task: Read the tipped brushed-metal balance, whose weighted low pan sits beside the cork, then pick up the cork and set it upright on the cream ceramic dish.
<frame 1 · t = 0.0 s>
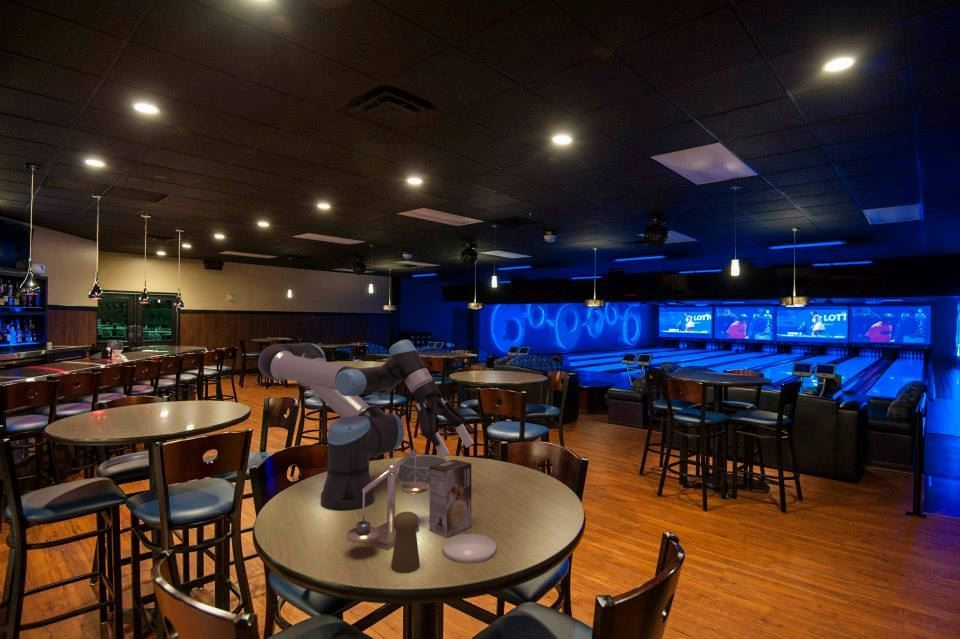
hand: (458, 450, 141), 15 cm above the table, tool tilted 35°, fingers open, 13 cm apart
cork: (405, 567, 104), on the table
balance: (390, 536, 119), on the table
dish: (469, 550, 112), on the table
coffee box: (450, 529, 123), on the table
dog bowl: (424, 477, 167), on the table
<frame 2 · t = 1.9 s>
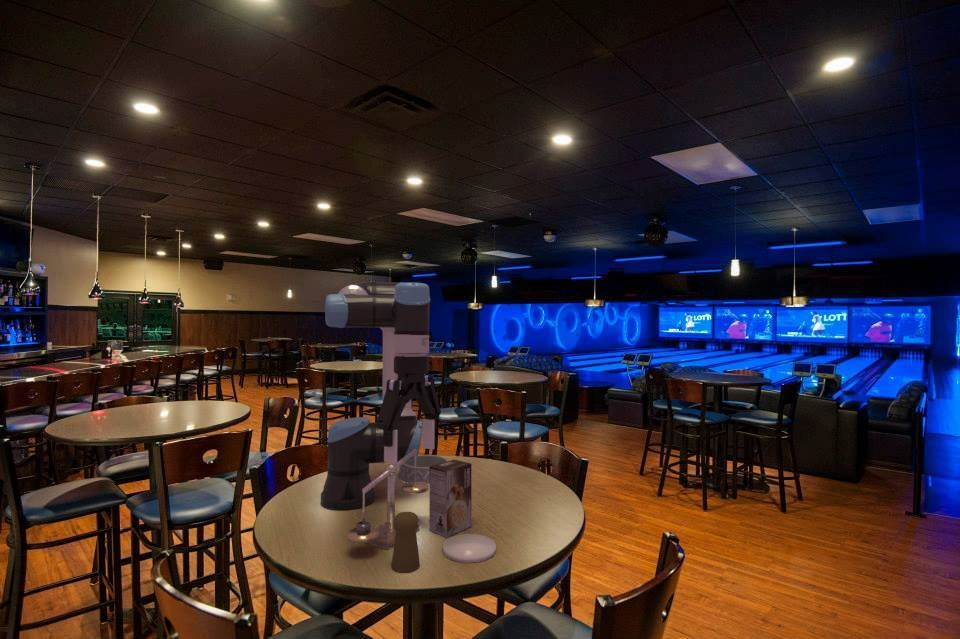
hand: (410, 455, 105), 23 cm above the table, tool pointing down, fingers open, 13 cm apart
nothing on the table moved.
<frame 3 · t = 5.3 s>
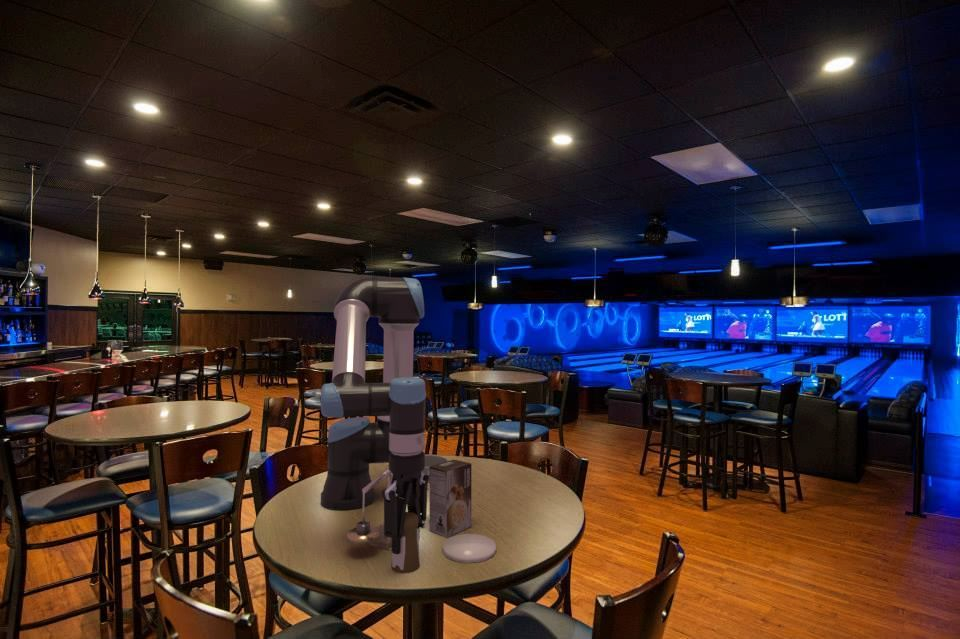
hand: (405, 562, 104), 1 cm above the table, tool pointing down, fingers closed on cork, 4 cm apart
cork: (405, 567, 104), on the table, touching gripper
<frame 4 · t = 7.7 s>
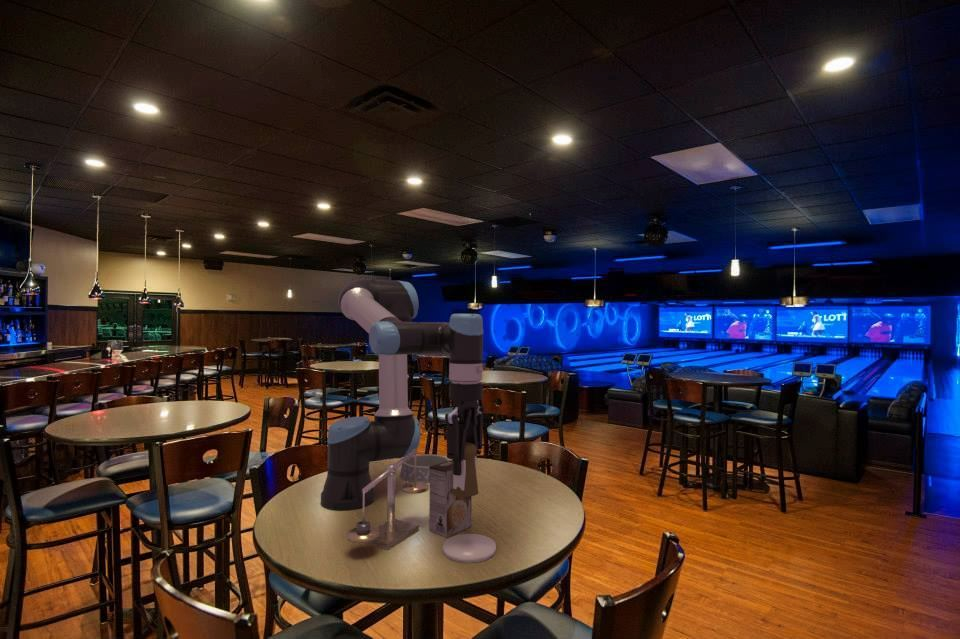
hand: (465, 485, 111), 15 cm above the table, tool pointing down, fingers closed on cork, 4 cm apart
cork: (465, 493, 111), point 13 cm above the table, touching gripper
when the fingers open (3 cm above the table, at t = 9.8 s): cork stays where it is, resting on dish.
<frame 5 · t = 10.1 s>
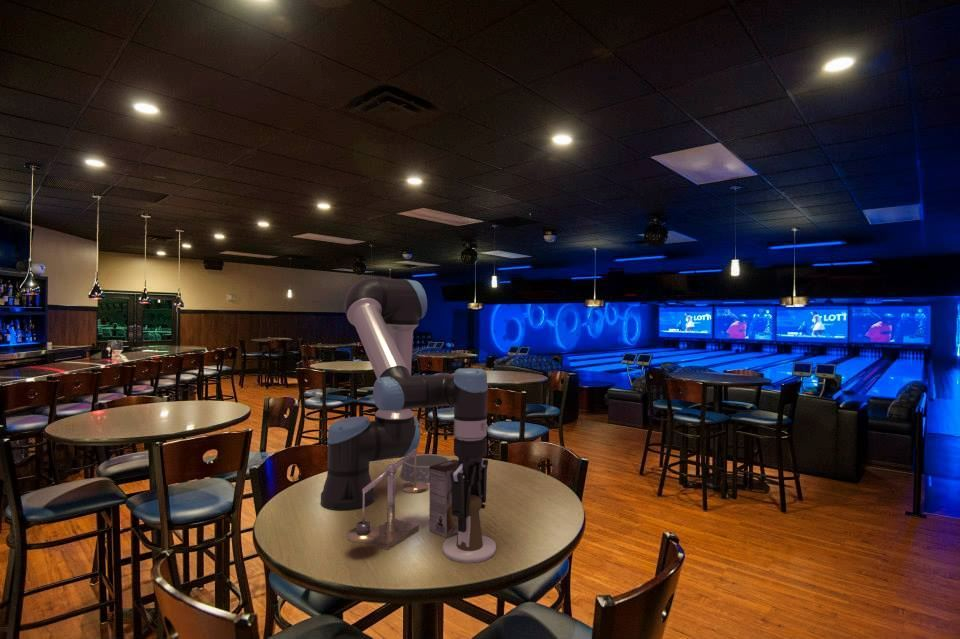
hand: (469, 540, 112), 2 cm above the table, tool pointing down, fingers open, 4 cm apart
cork: (469, 545, 112), point 1 cm above the table, touching dish, gripper
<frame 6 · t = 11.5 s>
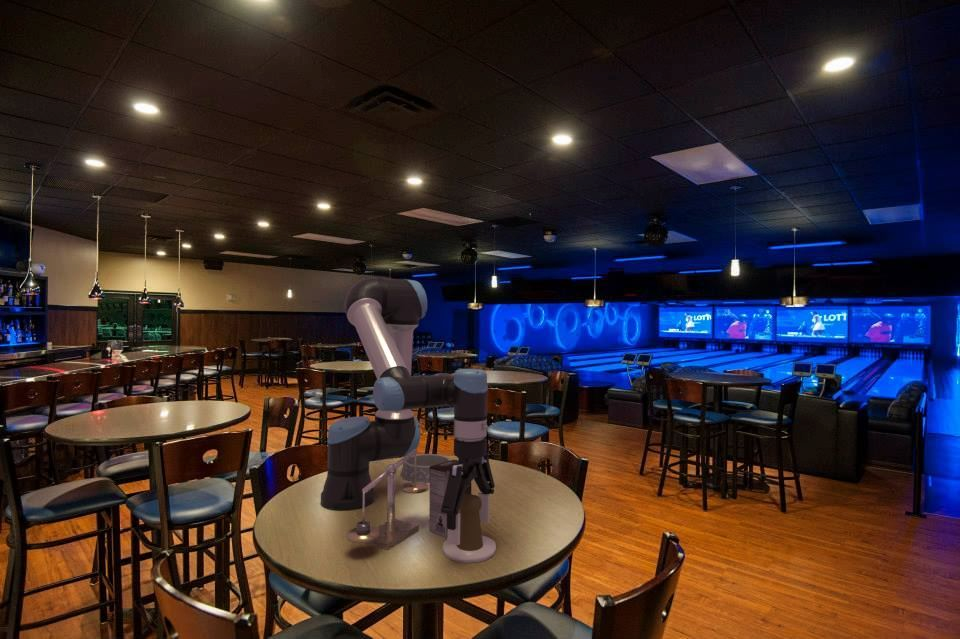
hand: (469, 532, 112), 4 cm above the table, tool pointing down, fingers open, 13 cm apart
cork: (469, 545, 112), point 1 cm above the table, touching dish
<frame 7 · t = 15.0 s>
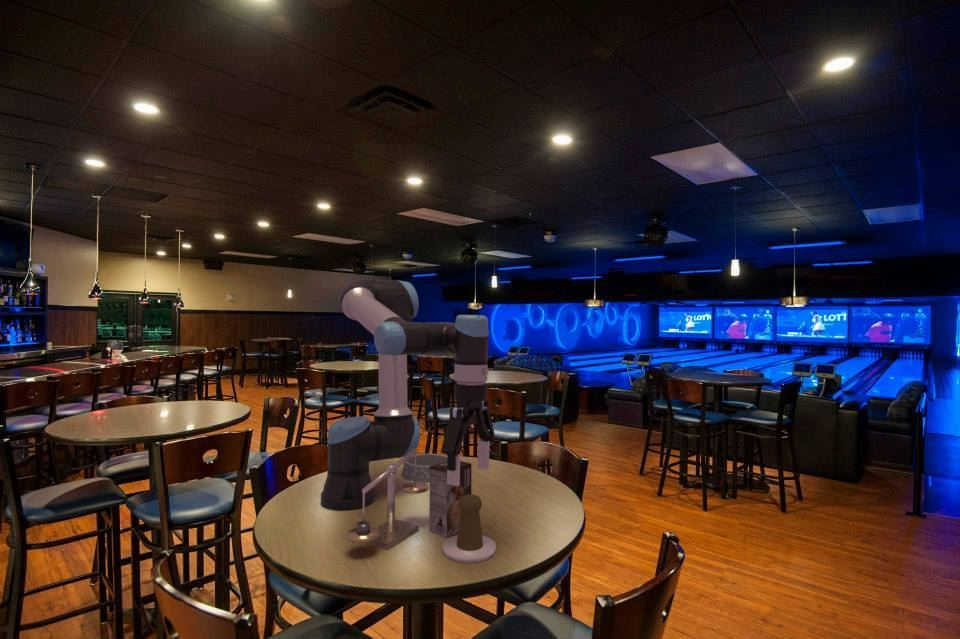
hand: (468, 476, 112), 17 cm above the table, tool pointing down, fingers open, 13 cm apart
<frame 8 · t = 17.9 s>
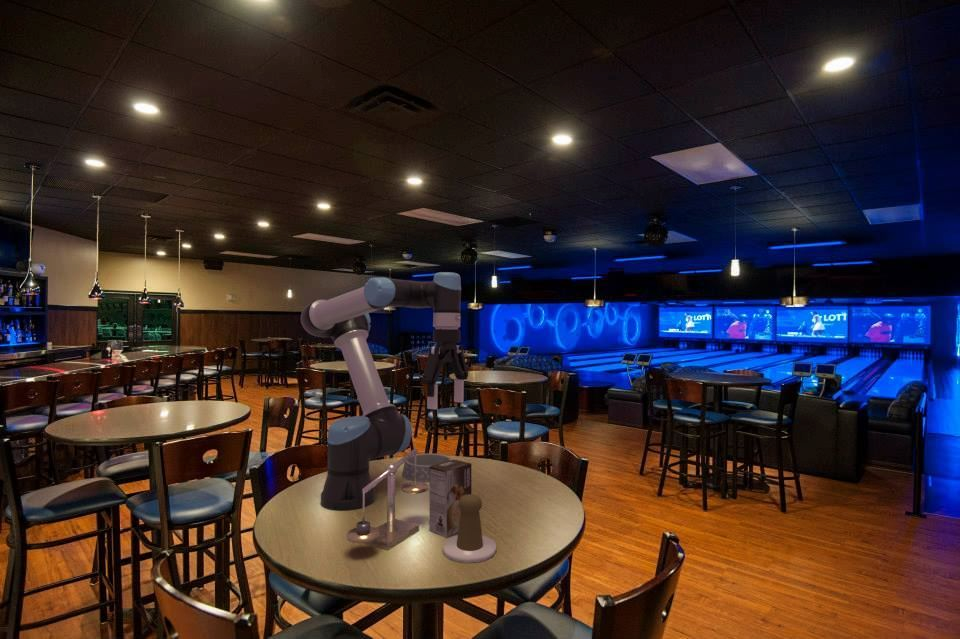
hand: (446, 405, 137), 29 cm above the table, tool pointing down, fingers open, 13 cm apart
at the end: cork 0.1 cm off-centre on the dish, point 1.0 cm above the dish's base; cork tilted 0°; the gripper is holding nothing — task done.
